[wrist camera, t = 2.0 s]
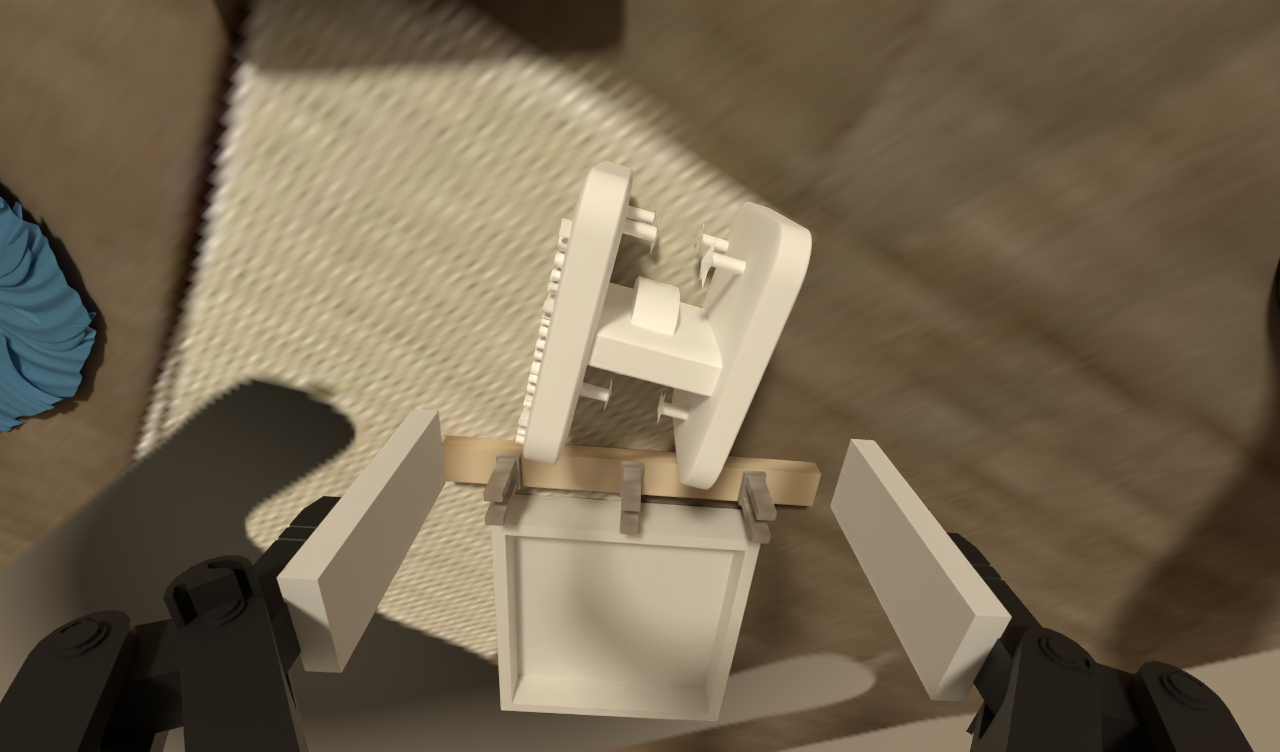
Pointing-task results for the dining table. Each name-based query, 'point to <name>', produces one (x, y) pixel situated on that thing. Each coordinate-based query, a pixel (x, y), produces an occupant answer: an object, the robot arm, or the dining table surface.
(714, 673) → the holder tray
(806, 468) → the cable clip rail
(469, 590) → the dining table surface
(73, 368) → the blue wave plaque
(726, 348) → the cable organizer
